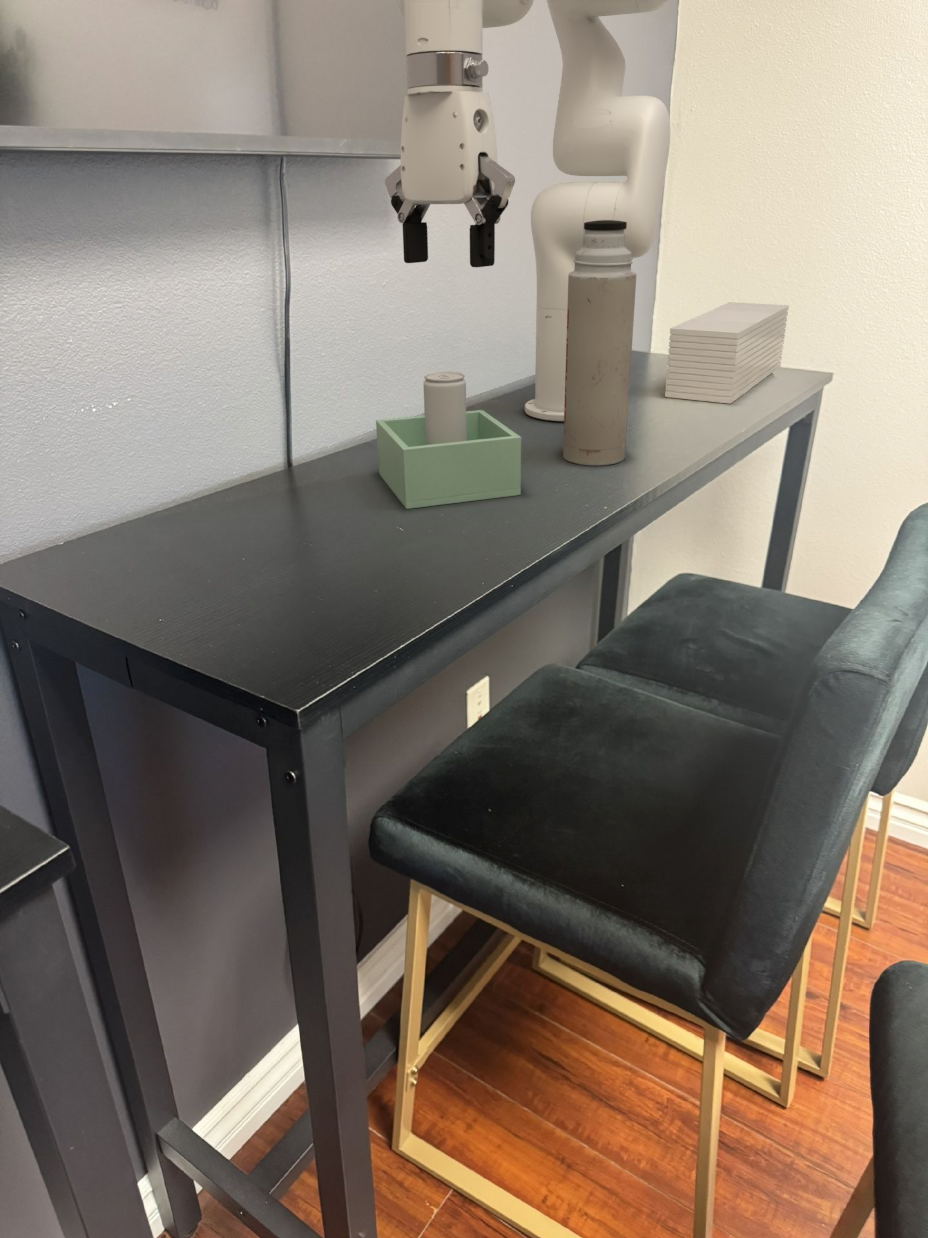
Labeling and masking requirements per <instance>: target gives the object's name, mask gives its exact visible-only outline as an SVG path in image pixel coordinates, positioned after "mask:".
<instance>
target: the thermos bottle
mask: <svg viewBox="0 0 928 1238" xmlns="http://www.w3.org/2000/svg"><path fill="white" fill-rule="evenodd" d="M626 227H627V222H623V221H615V220H599V221H591V222H585V223H584V229H585V234H584V235H583V247H582V248H581V249H580V250H579V251H577V252H576V253H575V260H574V263H575V269H574V271H572V272H570V273H569V275H568V306H567V339H566V372H565V405H564V421H563V437H562V438H563V440H562V441H563V444H562V458H563V459H564V460H565V461H567V462H568V463H569V462H570V463H573V464H576V465H581V466H595V467H596V466H598V467H599V466H600V467H601V466H610V465H615V464H618V463H621V462H623V461H624V460H625V458H626V449H627V434H628V433H627V432H628V418H629V416H628V415H629V391H630V381H631V369H632V368H631V367H632V354H633V353H632V352H633V337H634V336H633V335H634V323H635V322H634V320H635V319H634V318H635V305H636V287H637V272H636V271H634V270H632V264H633V259H634V258H632V253H631V252H630V251H629V250H628V249H626V248H625V234H624V229H626Z"/></svg>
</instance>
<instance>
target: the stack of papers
mask: <svg viewBox="0 0 928 1238" xmlns="http://www.w3.org/2000/svg"><path fill="white" fill-rule="evenodd" d="M789 307H790V306H789V304H773V303H772V304H770V303H752V302H751V303H750V302H731V301H730V302H727V303H724V304H722V305H720V306H717V307H715V308H713V309H711V310H709V311H706V312H705V313H702V314H699V315H697V316H694V317H693V318H690V319H688V320H685V321H684V322H681V323H679V324H677V325H675V326H672V327H670V329H669V334H670V335H669V343H668V354H667V363H666V364H667V366H666V379H665V392H664V397H665V398H671V399H672V398H673V399H680V400H681V399H682V400H689V401H690V400H691V401H701V402H710V403H711V402H712V403H720V404H721V403H722V404H732V403H733V402H735V401H736V400H738V399H739V398H741V396H743V395H744V394H746V393H747V392H748V391H750V390H752V389H753V388H754V387H755V386H757V385H758V384H760V383H761V382H762V381H763V380H765V379H766V378H767V377H769V376H770V375H772V374H773V373H774V372H775V371H776V370H778V369H779V368H780V367H781V366H782V362H781V361H782V358H783V350H784V344H785V342H784V341H785V337H786V336H785V335H786V328H787V322H788V313H789V312H788V311H789Z"/></svg>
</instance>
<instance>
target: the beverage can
mask: <svg viewBox="0 0 928 1238" xmlns="http://www.w3.org/2000/svg"><path fill="white" fill-rule="evenodd" d="M423 378H424V381H423V409H424V415H425V434H426V445H432V444H442V443H451V442H461V441H467V422H466V411H467V381H466V379H464V378H465V374H464V373H462V372H458V371H435V372H429V373H427V374H425V375H424V376H423Z"/></svg>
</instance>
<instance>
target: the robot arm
mask: <svg viewBox="0 0 928 1238" xmlns="http://www.w3.org/2000/svg"><path fill="white" fill-rule="evenodd" d="M534 1H535V0H397V3H398V7H399V10H400V13H401V15H402V16H403V17H404V35H405V36H404V37H405V38H404V39H405V41H404V42H405V66H406V67H405V69H406V71H405V73H406V91H407V92H406V94H407V95H405V96H404V101H403V108H402V118H401V130H400V131H401V132H400V133H401V134H400V165H399V166H398V167H397V168H396V169H394V170H393V171H392V172H391V173H390V174H388V176H386V178H385V180H384V183H385V187H386V189H387V192H388V195H389V198H390V204H391V206H392V208H393V209H394V211H395V212H396V214H397V221H398V223H400V224H402V242H403V243H402V244H403V245H402V246H403V262H404V263H405V264H416V263H425V262H427V261H428V260H429V242H428V241H429V240H428V224H427V222H426V221H425V222H424V221H423V219H424V218H425V216H426V214H427V212H428V210H429V208H430V206H431V205H462V204H464V206H465V208H466V210H467V211H468V214H469V215H470V216H471V218H472V220H473V222H474V224H470V225H469V265H470V266H471V268H484V267H492V266H494V265H495V258H496V257H495V251H496V248H495V247H496V245H495V244H496V243H495V240H496V231H495V230H496V225H498V224H499V223H500V222H501V215H502V214H503V213H504V211H506V209H507V208H508V205H509V198H510V197H511V194H512V191H513V188H514V186H515V183H516V177H515V176H514V175H513V174H512V173H511V172H509V171H508V170H507V169H506V168H504V167H503V166H501V165H500V164H498V148H497V135H496V127H495V119H494V113H493V107H492V102H491V97H490V94H489V92H486V91H485V92H484V91H483V87H484V86H483V85H484V84H483V83H484V82H483V77H486V76H487V75H488V73H489V64H488V62H487V61H486V60H484V59H483V55H484V54H483V49H484V47H483V46H484V45H483V40H484V39H483V29H490V28H491V29H492V28H500V27H501V28H502V27H505V26H511V25H513V24H515V23H517V22H519V21H521V20H522V19H523V18H524V17H525V16H526V15H527V14H528V13H529V11H531V8H532V6H533V4H534ZM668 2H669V0H546V3H547V7H548V10H549V14H550V17H551V20H552V24H553V27H554V31H555V34H556V37H557V41H558V44H559V48H560V53H561V60H562V68H561V69H562V70H561V71H562V72H561V80H560V88H559V93H558V94H559V95H558V101H557V107H556V116H555V123H554V130H553V137H552V159H553V162H554V165H555V167H556V168H557V169H558V170H559V172H562V173H563V174H565V175H570V176H575V177H626V180H625V181H617V182H616V181H615V182H614V181H613V182H612V181H610V182H609V181H607V182H602V181H601V182H599V181H579V182H578V181H574V182H573V181H572V182H561V183H557V184H552V185H550V186H549V185H548V186H547V187H545V188H543V189H542V190H541V191H540V192H538V194H537V195H536V196H535V198H534V201H533V202H532V206H531V210H530V211H531V212H530V229H531V235H532V242H533V247H534V249H533V250H534V256H535V269H536V270H535V272H536V310H535V311H536V313H535V314H536V315H535V316H536V319H535V374H534V375H535V378H534V380H535V381H534V382H535V383H534V398H533V399H530V400H528V401H526V403H525V404H524V413H525V414H526V415H527V416H528V417H532V418H534V419H539V420H543V421H550V422H564V405H565V372H566V339H567V306H568V275H569V273H570V272H572V271H574V269H575V263H574V260H575V253H576V252H577V251H579V250H580V249H581V248H582V247H583V235H584V234H585V229H584V223H585V222H591V221H599V220H615V221H623V222H627V227H626V229H624V234H625V248H626V249H628V250H629V251H630V252H631V253H632V258H633V259H636V258H641V257H643V256H644V255H646V254H647V253H648V252H649V251H650V250H651V248H652V247H653V243H654V241H655V238H656V234H657V230H658V224H659V219H660V212H661V205H662V199H663V193H664V188H665V187H664V186H665V180H666V175H667V168H668V162H669V155H670V148H671V147H670V145H671V121H670V114H669V111H668V108H667V106H666V105H665V103H664V102H663V101H662V100H661V99H660V98H658V97H656V96H652V95H625V96H623V90H624V82H625V74H626V59H625V56H624V54H623V52H622V50H621V47H620V46H619V44H618V42H617V40H616V39H615V37H614V36H613V35H612V33H610V31H609V30H608V29H607V27H606V25H604V23H603V21H602V20H601V18H600V17H610V16H619V15H630V14H644V13H650V12H654V11H657V10H659V9H661V8H663V7H664V6H665V5H666V4H667V3H668ZM422 221H423V222H422Z"/></svg>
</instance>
